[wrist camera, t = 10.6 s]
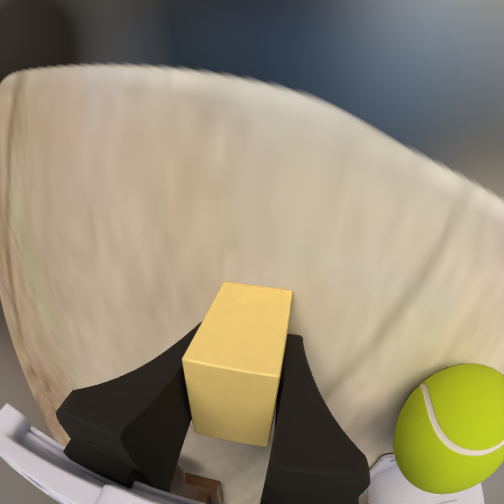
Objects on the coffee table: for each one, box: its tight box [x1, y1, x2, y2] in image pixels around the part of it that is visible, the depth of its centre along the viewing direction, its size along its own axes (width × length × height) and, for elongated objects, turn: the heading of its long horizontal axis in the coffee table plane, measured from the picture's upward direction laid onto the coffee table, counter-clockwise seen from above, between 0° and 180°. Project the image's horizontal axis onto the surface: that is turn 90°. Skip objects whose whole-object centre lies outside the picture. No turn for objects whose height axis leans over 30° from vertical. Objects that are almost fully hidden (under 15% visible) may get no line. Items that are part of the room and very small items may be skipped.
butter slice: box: [182, 282, 293, 447], centre depth 12 cm, size 3×4×5 cm, turn 177°
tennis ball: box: [393, 364, 504, 494], centre depth 10 cm, size 7×7×7 cm
